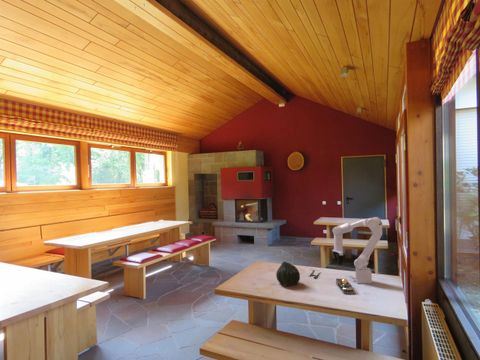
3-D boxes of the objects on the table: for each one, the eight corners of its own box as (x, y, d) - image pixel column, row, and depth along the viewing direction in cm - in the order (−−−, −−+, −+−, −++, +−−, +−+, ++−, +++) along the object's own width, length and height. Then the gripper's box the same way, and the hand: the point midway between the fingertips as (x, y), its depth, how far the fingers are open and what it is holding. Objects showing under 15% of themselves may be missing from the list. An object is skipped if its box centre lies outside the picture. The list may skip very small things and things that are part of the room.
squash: (305, 279, 187) (297, 257, 196) (283, 282, 183) (276, 260, 192) (298, 288, 197) (290, 267, 206) (277, 292, 193) (270, 270, 202)
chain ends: (345, 284, 193) (345, 278, 193) (354, 294, 176) (354, 288, 176) (335, 284, 193) (335, 278, 193) (343, 294, 176) (343, 288, 176)
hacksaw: (316, 279, 203) (316, 277, 203) (301, 277, 208) (301, 275, 208) (323, 270, 224) (323, 268, 224) (310, 268, 229) (310, 266, 229)
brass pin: (346, 288, 185) (346, 278, 185) (347, 289, 183) (347, 279, 183) (342, 288, 186) (342, 278, 186) (343, 289, 183) (342, 279, 183)
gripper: (329, 241, 215) (329, 260, 215) (335, 245, 201) (335, 266, 201) (339, 241, 215) (339, 260, 215) (346, 245, 200) (346, 266, 200)
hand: (338, 263), depth 208 cm, fingers open, 7 cm apart
